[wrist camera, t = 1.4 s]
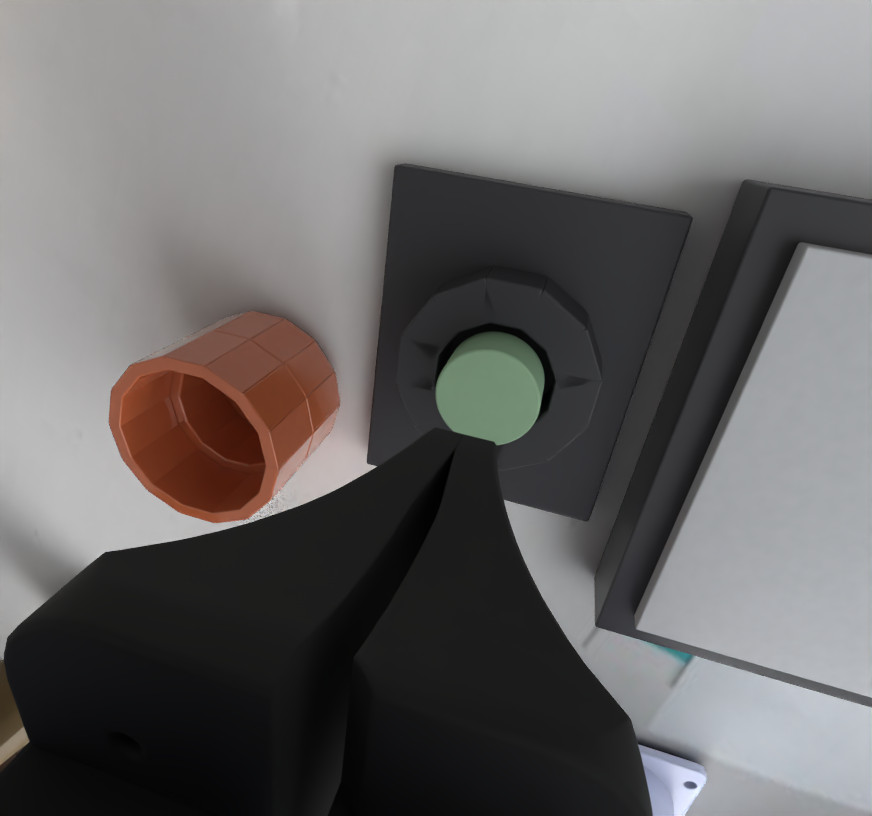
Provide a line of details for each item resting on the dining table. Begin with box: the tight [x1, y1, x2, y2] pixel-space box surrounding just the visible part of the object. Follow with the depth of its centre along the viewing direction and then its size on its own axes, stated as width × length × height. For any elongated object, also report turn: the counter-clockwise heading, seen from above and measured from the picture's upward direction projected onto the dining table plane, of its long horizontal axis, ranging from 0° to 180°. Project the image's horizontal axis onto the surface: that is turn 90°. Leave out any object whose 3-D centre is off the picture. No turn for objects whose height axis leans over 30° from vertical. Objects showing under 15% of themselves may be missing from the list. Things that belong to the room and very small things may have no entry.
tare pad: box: [367, 163, 693, 521], centre depth 17 cm, size 10×8×2 cm
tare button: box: [435, 331, 545, 445], centre depth 15 cm, size 3×3×2 cm
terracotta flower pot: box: [109, 311, 340, 523], centre depth 18 cm, size 5×6×5 cm
